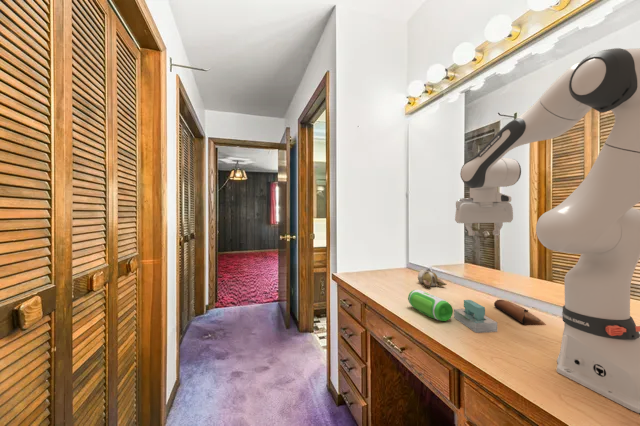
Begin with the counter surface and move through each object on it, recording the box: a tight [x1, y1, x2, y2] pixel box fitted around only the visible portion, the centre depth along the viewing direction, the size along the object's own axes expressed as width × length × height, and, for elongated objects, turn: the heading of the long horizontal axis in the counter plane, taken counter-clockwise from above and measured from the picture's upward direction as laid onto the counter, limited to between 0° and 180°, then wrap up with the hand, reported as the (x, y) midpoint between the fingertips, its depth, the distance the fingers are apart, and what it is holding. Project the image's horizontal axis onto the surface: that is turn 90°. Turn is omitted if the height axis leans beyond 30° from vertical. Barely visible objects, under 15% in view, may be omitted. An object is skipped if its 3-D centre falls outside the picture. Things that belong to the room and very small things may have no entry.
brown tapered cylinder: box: [493, 299, 547, 326], centre depth 103 cm, size 18×7×7 cm
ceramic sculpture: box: [417, 268, 447, 288], centre depth 146 cm, size 11×9×15 cm
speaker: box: [407, 289, 454, 322], centre depth 106 cm, size 18×7×8 cm, turn 17°
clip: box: [463, 299, 486, 321], centre depth 96 cm, size 8×2×7 cm, turn 3°
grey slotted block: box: [453, 308, 498, 334], centre depth 96 cm, size 13×7×3 cm, turn 3°
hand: (483, 235), depth 105 cm, fingers open, 8 cm apart
